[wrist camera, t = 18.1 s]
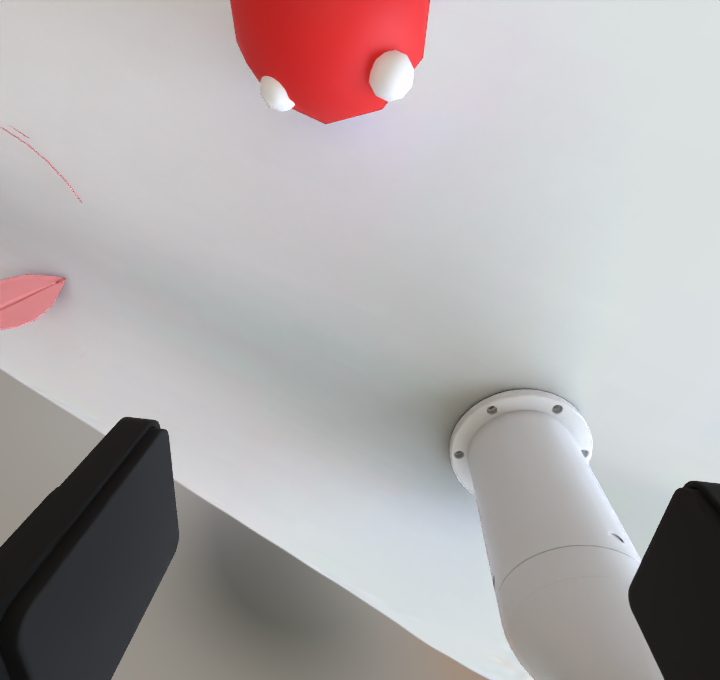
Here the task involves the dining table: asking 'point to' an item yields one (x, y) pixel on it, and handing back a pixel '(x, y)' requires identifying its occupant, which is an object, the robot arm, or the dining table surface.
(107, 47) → the dining table surface
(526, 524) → the robot arm
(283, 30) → the mushroom
